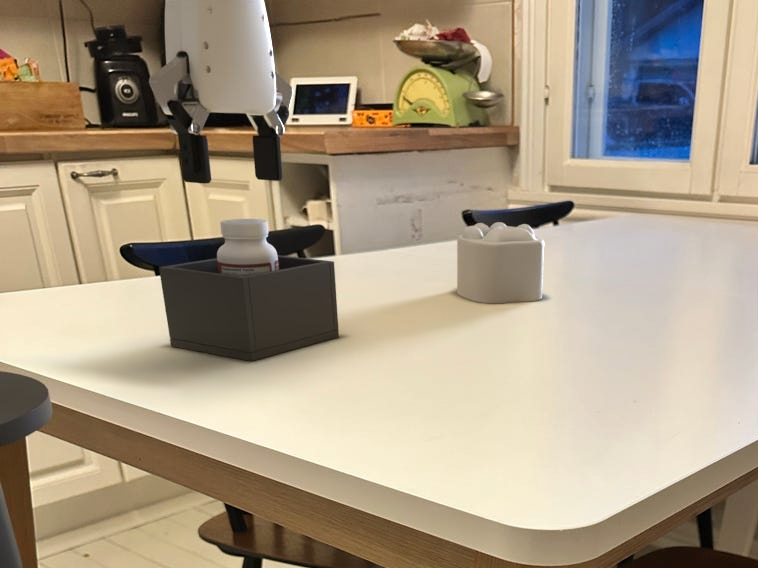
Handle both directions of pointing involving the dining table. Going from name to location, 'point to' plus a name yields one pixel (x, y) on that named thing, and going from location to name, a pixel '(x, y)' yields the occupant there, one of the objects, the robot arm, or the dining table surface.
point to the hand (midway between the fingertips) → (234, 181)
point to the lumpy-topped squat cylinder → (499, 263)
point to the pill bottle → (246, 248)
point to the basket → (250, 307)
